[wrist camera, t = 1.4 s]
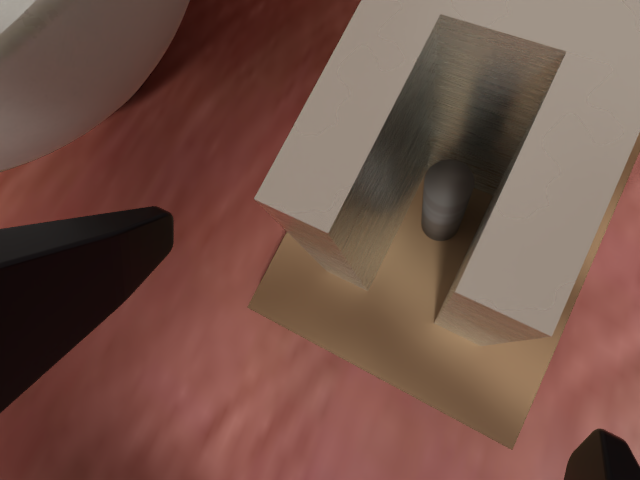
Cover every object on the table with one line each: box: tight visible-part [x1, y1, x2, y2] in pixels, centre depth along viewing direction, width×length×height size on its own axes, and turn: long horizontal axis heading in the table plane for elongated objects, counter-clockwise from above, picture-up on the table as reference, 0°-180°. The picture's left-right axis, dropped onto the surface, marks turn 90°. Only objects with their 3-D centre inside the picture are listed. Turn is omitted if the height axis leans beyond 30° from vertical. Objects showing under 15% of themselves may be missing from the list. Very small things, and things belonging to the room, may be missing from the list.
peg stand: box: [248, 132, 640, 450], centre depth 18 cm, size 14×12×6 cm
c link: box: [254, 0, 640, 346], centre depth 15 cm, size 8×7×10 cm
